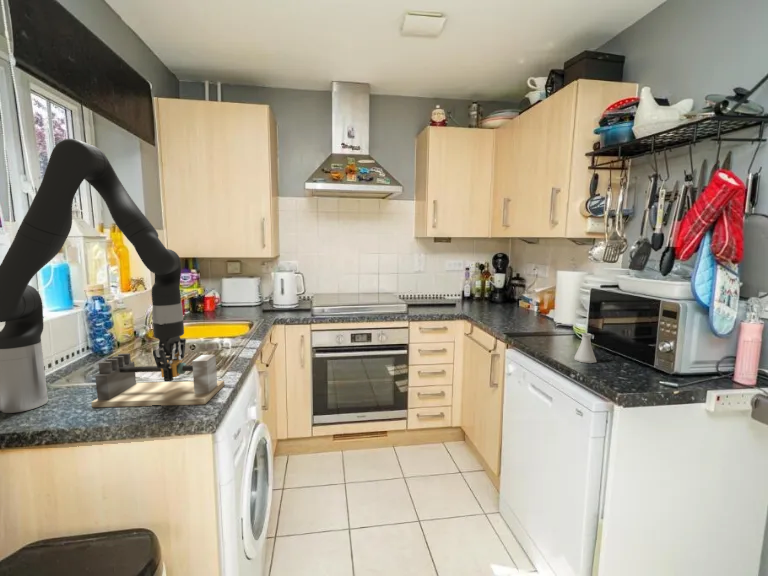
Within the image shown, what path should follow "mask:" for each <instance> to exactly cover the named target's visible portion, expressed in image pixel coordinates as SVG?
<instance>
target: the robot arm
mask: <svg viewBox="0 0 768 576" xmlns="http://www.w3.org/2000/svg"><path fill="white" fill-rule="evenodd" d="M46 165H47V166H46V169H45V171H44V175H43V177H42V181H41V183H40V185H39V187H38V190H37V191H36V193H35V196H34V198H33V199H32V202H31V204H30V206H29V209H28V210H27V212H26V214H25V215H24V217H23V219H22V221H21V224H20V225H19V228H18V229H17V231H16V234H15V236H14V238H13V241H12V242H11V244H10V246H9V249H7V252H6V254H5V256H4V258H3V260H2V262H1V263H0V323H4V326H3V328H2V329H1V330H0V412H2V413H4V414H12V413H22V412H25V411H26V412H27V411H30V410H33V409H37V408H39V407H41V406H44V405H46V404H47V403H48V402H49V399H48V390H47V389H48V387H47V380H46V379H47V378H46V373H45V372H46V371H45V362H44V354H43V353H44V352H43V346H42V344H43V343H42V337H41V336H42V334H43V331H44V309H43V307H44V306H43V301H42V297H41V294H40V293H39V291H38V290H37V289H36V288H35V287H34V286H32V285H30V284H29V283H30V282H31V280H32V279H33V278H34V277H35V275H36V274H37V273H38V272H40V270H42V269H43V268H44V267H45V266H47V264H49V262H50V261H52V260H53V258H55V257H56V256H57V255H58V254H59V252H60V251H61V250H62V249H63V247H64V244H65V243H66V240H67V238H68V236H69V235H70V233H71V230H72V225H73V201H74V198H75V196H76V193H77V192H78V190H79V188H80V186H81V184H82V183H83V181H84V180H85V181H86V182H87V183H89V185H90V186H91V187H93V189H94V190H95V191H97V193H98V194H99V195H100V196H101V198H102V199H103V201H104V202H105V204H106V207H107V209H108V211H109V213H110V216H111V218H112V219H113V222H114V224H115V225H116V226H117V228H118V229H119V231H121V233H122V234H123V235H124V237H126V239H127V241H129V242H130V244H132V246H133V247H134V249H135V252H136V253H137V255H138V256H139V258H140V261H142V263H143V264H144V266H145V267H146V268H147V269H148V270H149V271H150V272H151V273H153V274H154V284H153V285H152V287H151V303H152V312H151V315H152V316H151V317H152V327H153V329H152V330H153V337H154V338H155V339H158V340H159V343H158V348H157V349H153V350H152V355H153V359H154V363H155V364H156V365H155V366H157V368H158V369H160V368H161V369H163V374H164V377H163V382H173V381H174V377H173V371H172V360H182V359H184V358H185V351H186V338H181V336H184V335H185V324H184V323H185V322H184V311H183V306H182V300H181V299H182V298H181V289H180V288H181V287H180V283H181V277H182V276H181V273H182V264H181V263H182V262H181V258H180V256H179V253H177V252H176V251H174V250H172V249H167V248H166V247H165V245H164V244H163V242H162V241H161V240H160V238H159V234H158V231H157V230H156V228H155V227H154V226H153V224H152V223H151V222H150V220H149V219H148V218H147V217H146V216H145V213H143V212H142V210H141V209H140V208H139V207H138V206H137V204H136V202H135V201H134V200H133V198H132V197H131V195H130V194H129V192H128V191H127V189H126V187H124V184H122V182H121V180H120V178H119V177H118V175H117V173H116V171H115V170H114V168H113V166H112V164H111V162H110V160H109V159H108V157H107V156H106V153H104V152H103V151H102V149H100V148H98V147H97V146H95V145H92V144H90V143H87V142H85V141H82V140H79V139H76V138H65V139H63V140H60V141H59V142H58V143H56V144H55V146H54V148H53V149H52V151H51V154H50V157H49V159H48V163H47V164H46ZM167 361H169V362H167ZM180 375H182V374H180ZM180 375H179V376H180Z"/></svg>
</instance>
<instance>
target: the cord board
mask: <svg viewBox="0 0 768 576" xmlns="http://www.w3.org/2000/svg"><path fill="white" fill-rule="evenodd" d="M216 358H217V357H216V354H201V355H199V356H198V357H196V358H195V359H193V360H192V361H191V363H192V364H191V365H189V364H187V363H186V362H182V363H179V365H178V366H177V371H178V374H181V375H184V374H185V373H186V372H192V376H193V380H191V381H154V382H151V381H150V382H137V380H136V379H137V377H136V373H161V368H160V369H158V368H157V365H154V366H153V365H151V366H150V365H149V366H145V365H144V366H143V365H142V366H136V365H135V361H131V353H118V354H117V355H115V356H112V357H111V358H107V359H105V361H100V362H98V372H99V373H98V374H95V375H94V377H95V384H96V385H95V386H96V395H97V396H96V397H97V398H96V399H94V400H92V401H91V407H92V408H112V407H113V408H116V407H117V408H118V407H119V408H120V407H151V406H152V405H161V406H187V405H188V406H192V405H195V406H196V405H198V406H199V405H206V404H207V403H208V402H209V401H210V400H211V399H212V398H213V397H214V396H215V395H216V394H217V393H218V392H219V391H221V390H222V388H224V386H225V380H218V374H217V361H216V360H217V359H216ZM152 407H153V406H152Z"/></svg>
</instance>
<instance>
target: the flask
mask: <svg viewBox="0 0 768 576" xmlns="http://www.w3.org/2000/svg"><path fill="white" fill-rule="evenodd" d="M581 336H582V337H581V342H580V344H579V347H578V349H577V350H576V353H575V355H574V357H573V359H574V360H575V361H576V362H580V363H583V364H585V363H587V364H592V363H597V359H596V356H595V352H594V351H593V346H592V342H591V337H592V336H593V335H592V333H589V332H588V333H587V332H583V333H581Z"/></svg>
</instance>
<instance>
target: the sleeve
mask: <svg viewBox="0 0 768 576" xmlns="http://www.w3.org/2000/svg"><path fill="white" fill-rule="evenodd" d="M167 362H169V361H168V360H167ZM179 363H183V360H182V359H181V360H172V371H173V378H177V377H179V376H180V374H178V371H177V366H178V365H179ZM160 373H161V378H164V374H163V369H161V372H160Z"/></svg>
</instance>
